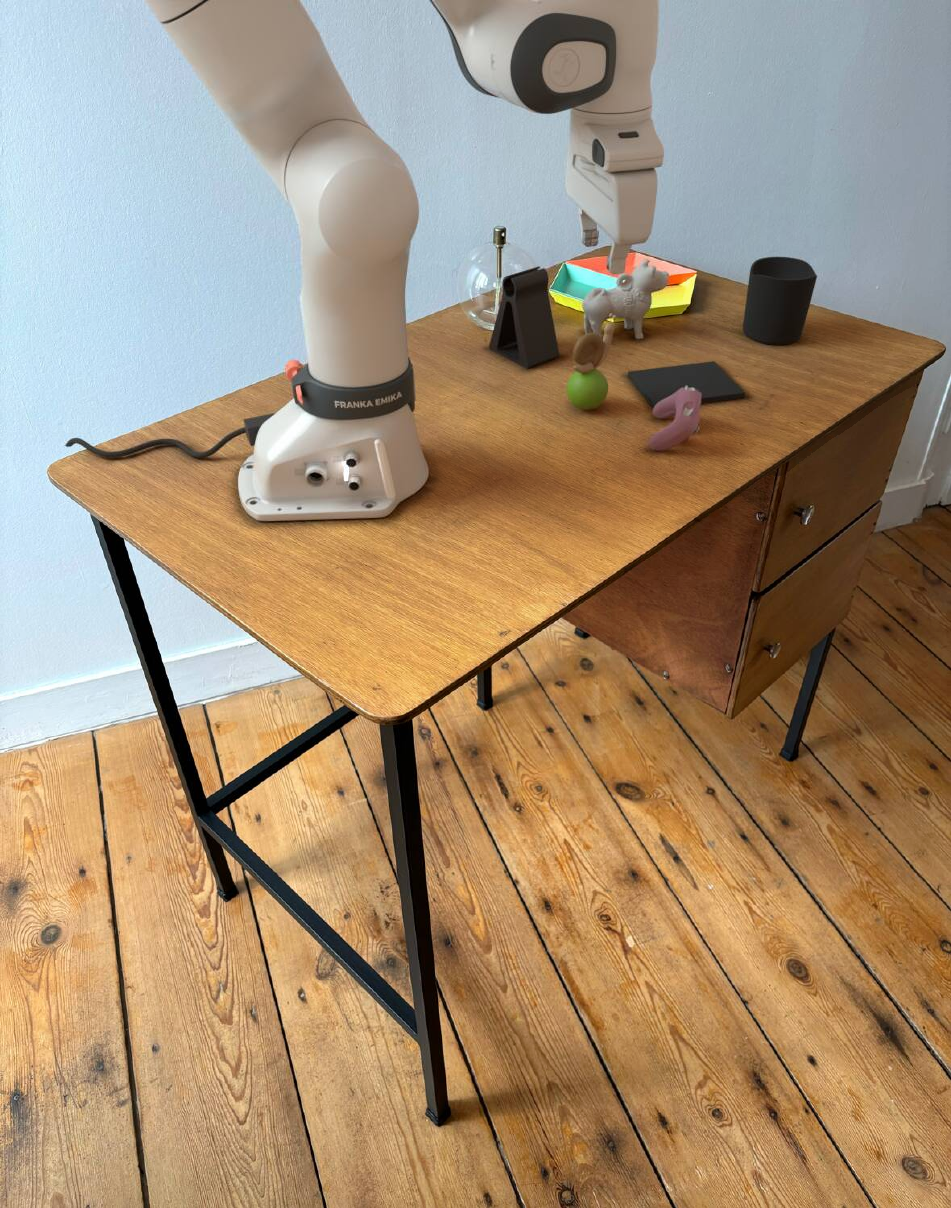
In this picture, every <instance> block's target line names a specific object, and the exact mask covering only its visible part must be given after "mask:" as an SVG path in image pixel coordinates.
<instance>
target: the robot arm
mask: <svg viewBox="0 0 951 1208" xmlns="http://www.w3.org/2000/svg"><path fill="white" fill-rule="evenodd" d="M144 1H145V3H146V4H147V6H148V7H149V9H150V10H151V12H152V13H153V14H154V17H156V19H157V21H159V23H160V25H161V26H162V27H163V29H164V31H165V32H166V33H167V35H168V36H169V38H170V39H171V40H172V42H173V43H174V44H175V46H176V48H177V49H178V50H179V52H180V53H181V54H182V56H183V57H184V59H185V61H187V63H188V65H189V67H191V69H192V70H193V72H194V73H195V75H196V76H197V77H198V79H199V80H200V82H201V83H202V84H203V86H204V87H205V89H206V90H207V91H208V93H209V94H210V96H211V97H212V99H213V100H214V101H215V103H216V104H217V105H218V107H219V109H220V110H221V111H222V113H223V114H224V116H225V117H226V118H227V119H228V121H229V122H230V124H231V125H232V127H233V128H234V129H235V130H236V132H237V133H238V135H239V136H240V138H241V139H242V140H243V142H244V143H245V145H246V146H247V148H248V149H249V150H250V152H251V153H252V154H253V156H254V157H255V159H256V160H257V161H258V163H259V164H260V166H261V167H262V169H263V170H264V171H265V173H266V174H267V176H268V177H269V179H270V180H271V181H272V183H273V184H274V186H275V187H276V189H277V190H278V191H279V193H280V194H281V195H282V197H283V198H284V199H285V202H286V203H287V204H288V206H289V208H290V209H291V211H292V212H293V214H294V217H295V220H296V223H297V227H298V232H299V240H300V253H301V256H300V257H301V290H300V291H301V292H300V294H299V307H300V315H301V321H302V329H303V336H304V345H305V352H306V359H307V363H306V364H305V365H304V366H303V364H302V363H301V362H300V361H299V360H297V359H290V360H289V361H287V362H286V364H285V365H284V371H285V375H286V379H287V380H288V381H289V382H291V389H292V395H293V398H292V399H291V400H290V401H289V402H288V403H286V404H285V405H284V406H283V407H282V408H280V409H279V410H278V411H277V412H274V413H268V414H264V415H258V416H252V417H248V418H244V419H243V425H244V427H241V428H238V429H236V430H234V431H231V432H230V433H228V434H226V436H224V437H223V438H222V439H221V440H220V441H218V442H217V443H216V444H215V445H213V446H212V447H211V448H209V449H207V450H206V451H201V452H198V451H194V450H193V449H191V448H190V447H189V446H187V444H185V443H184V442H182V441H180V440H178V439H174V438H157V439H152V440H149V441H146V442H143V443H141V444H138V445H135V446H133V447H132V446H131V447H129V448H126V449H123V450H116V451H105V450H101V449H98V448H97V447H95V446H93V445H92V444H90V443H89V442H87V441H86V440H84V439H82V438H79V437H72V438H70V439H69V440H68V441H67V442H66V443H65V445H64V447H67V448H71V447H73V446H74V445H75V444H77V445H80V446H82V447H83V448H84V449H86V450H88V451H89V452H91V453H93V454H94V455H96V456H99V457H103V458H110V459H111V458H121V457H127V456H130V455H132V454H135V453H138V452H141V451H144V450H147V449H149V448H152V447H157V446H163V445H172V446H176V447H178V448H180V449H181V450H182V451H183V452H184V453H186V454H187V455H188V456H190V457H192V458H194V459H204V458H205V459H206V458H208V457H211V456H212V455H214V454H215V453H217V452H218V451H219V450H221V449H222V448H223V447H224V446H225V445H227V444H228V443H229V442H230V441H231V440H233V439H235V438H237V437H239V436H241V435H243V434H245V436H246V438H247V441H248V443H249V445H250V447H253V454H251V455H249V456H248V457H247V459H246V460H244V462H243V463H242V465H241V466H240V469H239V472H238V475H237V476H238V477H237V487H238V495H239V496H238V497H239V500H240V504H241V506H242V509H244V510H245V512H246V513H247V514H248V515H249V516H250V517H251V518H253V519H255V520H256V521H259V522H278V521H279V522H281V521H283V522H285V521H286V522H287V521H313V520H314V521H315V520H316V521H317V520H342V519H343V520H344V519H351V520H352V519H379V518H385V517H387V516H389V515H390V514H391V513H392V512H394V510H395V509H396V508H397V507H398V506H399V504H400V503H401V502H403V501H404V500H406V499H407V498H409V497H411V496H413V495H415V494H416V493H417V492H419V491H420V490H421V488H423V486H425V484H426V483H427V481H428V478H429V475H430V468H429V465H428V462H427V461H426V458H425V455H424V453H423V450H422V445H421V443H420V442H421V441H420V438H419V435H418V430H417V424H416V419H415V413H414V411H415V410H416V399H417V398H416V397H417V396H416V381H415V380H416V378H415V372H414V371H415V370H414V368H413V363H412V362H411V358H410V357H409V348H408V346H409V345H408V329H407V309H406V287H407V277H408V276H407V275H408V269H409V268H408V267H409V260H410V253H411V246H412V245H411V243H412V240H413V238H414V235H415V233H416V232H417V231H416V230H417V227H418V223H419V218H420V217H419V216H420V203H419V198H418V193H417V191H416V186H415V183H414V181H413V178H412V174H411V173H410V171H409V168H408V166H407V165H406V162H405V161H404V159H403V158H402V157H401V156H400V154H399V153H398V152H397V151H396V150H395V149H394V148H392V146H390V144H388V143H387V142H386V141H385V140H384V139H382V137H380V136H379V135H378V134H377V132H375V131H374V129H373V128H372V127H371V126H370V125H369V123H368V122H367V121H366V120H365V118H364V116H363V115H362V114H361V112H360V110H359V109H358V107H357V105H356V103H355V101H354V99H353V98H352V96H351V94H350V93H349V91H348V88H347V87H346V85H345V83H344V81H343V79H342V78H341V75H340V74H339V72H338V69H337V68H336V66H335V64H334V61H333V60H332V58H331V56H330V54H329V51H328V49H327V47H326V46H325V44H324V41H323V39H322V37H321V36H322V35H321V33H320V32H319V30H318V28H317V26H316V25H315V23H314V22H313V20H312V19H311V16H310V15H309V13H308V11H307V10H306V8H305V6H304V5H303V3H302V1H301V0H144ZM429 2H430V3H431V5H432V6H433V8H434V9H435V10H436V12H437V13H438V15H439V17H440V18H441V20H442V22H443V23H444V25H445V27H446V30H447V32H448V36H449V38H450V41H451V45H452V48H453V52H454V55H455V60H456V62H457V65H458V67H459V70H460V72H461V74H462V75H463V78H464V79H465V80H466V81H467V83H468V84H469V85H470V86H471V87H472V88H473V89H474V90H476V91H477V92H479V93H481V94H483V95H487V96H490V97H494V98H497V99H502V100H504V101H506V102H508V103H510V104H512V105H514V106H517V107H520V108H521V109H524V110H526V111H528V112H531V113H535V114H539V115H541V114H542V115H551V114H552V115H553V114H558V113H561V112H564V111H568V110H570V112H569V137H568V138H569V141H568V146H567V147H568V148H567V155H566V166H565V167H566V168H565V183H564V184H565V191H566V195H567V197H568V198H569V199H570V200H571V201H573V202H574V203H575V204H576V205H577V207H578V208H577V213H578V214H577V215H578V219H579V225H580V242H581V243H582V244H583V245H584V246H585V247H586V248H590V247H597V246H598V245H599V237H600V231H599V230H598V227H599V228H600V229H601V230H602V231H603V232H604V233H605V234H607V236H608V237H609V238H610V240H609V243H610V245H611V248H610V252H609V254H608V255H607V256H606V266H605V267H606V270H607V271H608V272H609V273H610V274H611V275H613V276H614V275H620V274H622V273H625V271H626V264H627V258H628V256H629V254H630V251H631V249H632V246H633V245H641V244H645V243H647V241H648V239H649V237H650V236H651V235H652V231H653V225H654V220H655V219H654V218H655V212H656V203H657V195H658V174H657V170H656V169H657V168H660V167H662V166H663V163H664V158H665V157H664V155H665V148H664V145H663V143H662V142H661V139H660V137H659V136H658V133H657V132H656V131H657V130H656V129H655V125H654V121H653V118H652V111H653V94H652V89H651V78H652V73H653V69H654V66H655V63H656V61H657V60H656V59H657V49H658V37H659V13H660V11H659V0H429Z"/></svg>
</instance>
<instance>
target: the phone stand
mask: <svg viewBox="0 0 951 1208" xmlns="http://www.w3.org/2000/svg"><path fill="white" fill-rule="evenodd" d="M549 279H550V278H549V274H548V271H547V270H546V268H545V267H543V268H541V266H539V265H538V266H535V267H532V268H528V269H526V270H522V271H518V272H515V273H513V274H508V275H505V276H504V277H503V278H502V282H501V284H502V285H501V286H502V295H501V300H500V304H499V307H498V311H497V315H496V318H495V322H494V326H493V329H492V333H491V337H490V341H489V345H488V348H489V349H490V351H493V352H494V353H497V354H499V355H500V356H502V357H504V358H506V359H508V360H510V361H511V362H514V363H515V364H517V365H519V366H521V367H523V368H525V369H530V368H533V367H536V366H539V365H541V364H544V363H546V362H549V361H552V360H555V359H557V358H560V349H559V345H558V339H557V334H556V329H555V323H554V317H553V311H552V307H551V301H550V296H549Z"/></svg>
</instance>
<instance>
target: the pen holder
mask: <svg viewBox="0 0 951 1208" xmlns="http://www.w3.org/2000/svg"><path fill="white" fill-rule="evenodd" d="M817 278H818V275H817V273H816V272H815V270H814V268H813V267H812V265H811V264H810V263H809V262H807V261H805V260H803V259H800V258H795V257H788V256H767V257H761V258H759V259H758V258H757V259H756V260H755V261H753V263H751V266H750V269H749V275H748V282H747V283H748V284H747V291H746V297H745V298H746V299H745V307H744V313H743V314H744V315H743V325H742V331H743V334H744V335H745V336H746V337H747V338H748V339H750V340H752V341H754V342H757V343H760V344H764V345H765V344H766V345H770V346H771V345H772V346H774V345H775V346H784V345H790V344H793V343H795V342H797V341H798V340H799V339H800V338H801V337H802V335H803V331H804V328H805V323H806V322H807V321H806V320H807V317H808V313H809V309H810V305H811V302H812V297H813V293H814V290H815V286H816V282H817Z"/></svg>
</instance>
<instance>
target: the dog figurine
mask: <svg viewBox="0 0 951 1208" xmlns="http://www.w3.org/2000/svg"><path fill="white" fill-rule="evenodd" d="M650 261H651V260H650V259H647V258H644V259H643V260H642V261H641V263H640V264H639V265H638V266H636V267H635V268H634V269H633V270H632V272H631V274H628V273H626V272H623V273H622V274H618V276H617V278H616V282H615V283H616V287H613V288H611V289H605V288H604V287H596V288H593V289H591V290H590V291H589V293H588V294H587V295H585V296H584V298H583V300H582V302H581V303H582V304H581V306H582V307H581V308H582V310H583V313H584V315H583V321H584V323H583V326H584V327H583V330H584V332H585V334H587V333H596V334H598V335H599V336H600V337H601V338H602V330H603V329H602V328H603V325H604V323H605V322H606V321H607V320H611V318H610V317H609V314H610V313H612V314H613V315H616V316H617V318H616V319H623V323H624V329H626V330H632V329H633V330H634V338H635V339H637V340H640V339H644V334H643V332H642V331H643V329H642V328H643V320H644V317H645V316H646V315H647V313H648V312H649V311H650V310H651V307H652V303H653V302H652V301H653V298H652V297H653V296H652V294H653V293H657V292H660V291H663V290H664V289H665V288H667V286H668V284H669V278H670V274H669V272H668V271H666V270H664V271H661V270H658V269H657V267H656V266H655V265H649V263H650Z"/></svg>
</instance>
